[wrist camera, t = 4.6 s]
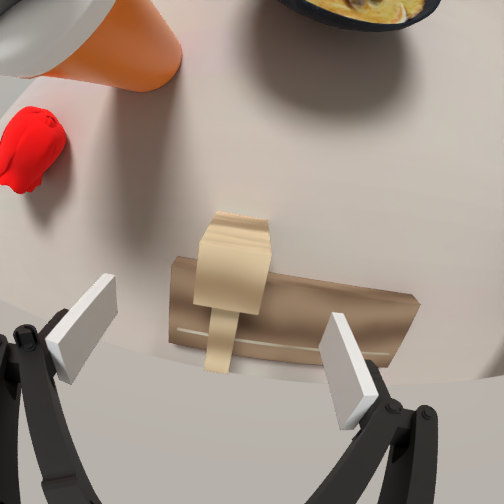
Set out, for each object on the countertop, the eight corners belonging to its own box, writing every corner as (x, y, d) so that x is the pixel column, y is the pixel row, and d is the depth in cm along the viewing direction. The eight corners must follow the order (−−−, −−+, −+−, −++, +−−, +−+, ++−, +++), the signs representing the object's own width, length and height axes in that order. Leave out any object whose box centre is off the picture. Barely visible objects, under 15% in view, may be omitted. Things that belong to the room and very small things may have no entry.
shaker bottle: (195, 90, 23) (71, 5, 5) (112, 111, 24) (-55, 106, 5) (189, 14, 20) (103, -109, 1) (109, 38, 20) (-26, -21, 2)
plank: (177, 256, 29) (171, 266, 27) (412, 294, 31) (420, 305, 29) (173, 330, 33) (168, 343, 31) (381, 356, 35) (387, 368, 32)
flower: (63, 150, 20) (24, 207, 22) (83, 128, 26) (47, 176, 28) (11, 102, 15) (-23, 166, 17) (42, 89, 21) (8, 140, 22)
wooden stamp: (217, 211, 28) (199, 242, 19) (267, 219, 28) (271, 255, 20) (202, 329, 33) (187, 384, 25) (243, 336, 33) (239, 392, 25)
